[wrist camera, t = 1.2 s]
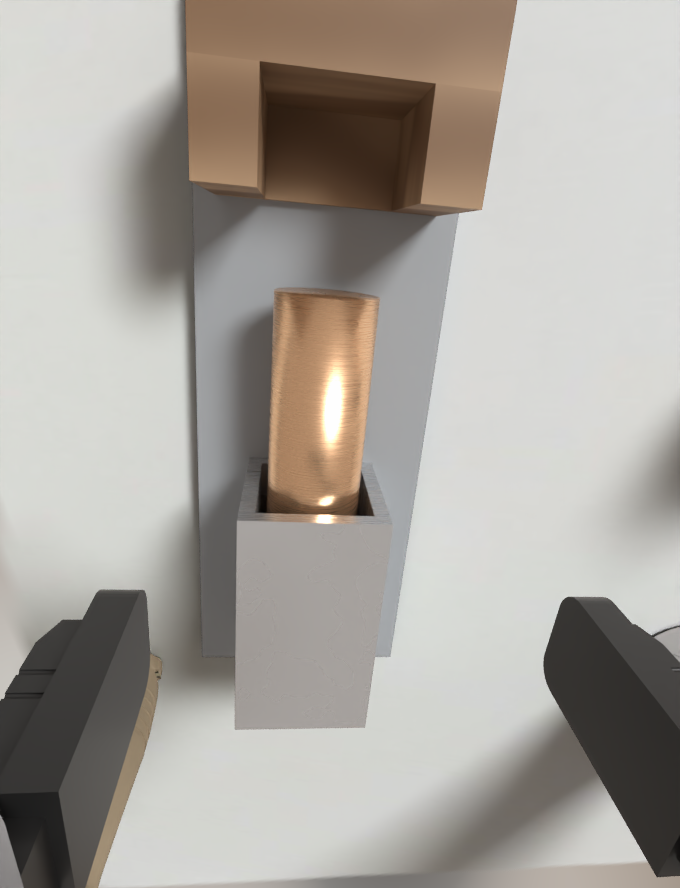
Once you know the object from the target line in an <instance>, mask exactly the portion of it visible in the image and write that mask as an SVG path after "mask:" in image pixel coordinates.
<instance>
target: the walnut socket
mask: <svg viewBox="0 0 680 888" xmlns="http://www.w3.org/2000/svg"><path fill="white" fill-rule="evenodd" d="M516 5H517V0H185V14H186V58H187V102H188V146H189V181H191V182H193V183H195V184H197V185H199V186H200V187H202V188H204V189H206V190H208V191H209V192H211V193H213V194H215V195H224V196H234V197H244V198H254V199H265V200H275V201H285V202H295V203H306V204H316V205H326V206H336V207H347V208H357V209H367V210H377V211H388V212H398V213H408V214H418V215H429V216H442V215H449V214H455V213H462V212H469V211H476V210H482V206H483V200H484V194H485V188H486V182H487V176H488V170H489V164H490V158H491V152H492V147H493V141H494V135H495V129H496V123H497V117H498V111H499V105H500V99H501V93H502V88H503V82H504V76H505V70H506V64H507V58H508V52H509V46H510V40H511V34H512V29H513V23H514V17H515V11H516Z"/></svg>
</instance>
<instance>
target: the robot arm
mask: <svg viewBox="0 0 680 888" xmlns="http://www.w3.org/2000/svg"><path fill="white" fill-rule="evenodd" d="M149 668H150V644H149V628H148V612H147V598H146V593H145V591H144V590H99V591H98V592H97V593H96V595H95V597H94V599H93V601H92V602H91V604H90V606H89V608H88V610H87V612H86V614H85V616H84V618H83V620H62V621H61V622H60V623H58V624H57V625H56V626H55V627H54V628H52V629H51V630H50V631H49V632H48V633H47V634H45V635H44V636H43V637H42V638H41V639H39V640H38V641H37V642H36V643H35V645H34V646H33V648H32V650H31V651H30V653H29V655H28V656H27V658H26V660H25V661H24V663H23V665H22V666H21V668H20V670H19V674H18V675H16V676H15V678H14V679H13V681H12V683H11V684H10V686H9V688H8V689H7V691H6V693H5V698H4V699H1V701H0V888H85V887H86V884H87V881H88V878H89V874H90V871H91V868H92V865H93V861H94V858H95V855H96V852H97V848H98V845H99V842H100V839H101V835H102V832H103V829H104V825H105V822H106V819H107V816H108V812H109V809H110V806H111V803H112V799H113V796H114V793H115V790H116V786H117V783H118V780H119V776H120V773H121V770H122V767H123V763H124V760H125V757H126V754H127V750H128V747H129V744H130V741H131V737H132V734H133V731H134V728H135V724H136V721H137V718H138V714H139V711H140V708H141V705H142V701H143V698H144V695H145V691H146V687H147V682H148V677H149ZM544 674H545V679H546V682H547V685H548V687H549V689H550V691H551V693H552V695H553V697H554V698H555V700H556V702H557V704H558V705H559V707H560V709H561V711H562V712H563V714H564V716H565V718H566V719H567V721H568V723H569V725H570V726H571V728H572V730H573V732H574V733H575V735H576V737H577V739H578V740H579V742H580V744H581V746H582V747H583V749H584V751H585V753H586V754H587V756H588V758H589V760H590V761H591V763H592V765H593V767H594V768H595V770H596V772H597V773H598V775H599V777H600V779H601V780H602V782H603V784H604V786H605V787H606V789H607V791H608V793H609V794H610V796H611V798H612V800H613V801H614V803H615V805H616V807H617V808H618V810H619V812H620V814H621V815H622V817H623V819H624V821H625V822H626V824H627V826H628V828H629V829H630V831H631V833H632V835H633V836H634V838H635V840H636V842H637V843H638V845H639V847H640V849H641V850H642V852H643V854H644V856H645V857H646V859H647V861H648V863H649V864H650V866H651V868H652V869H653V871H654V873H655V875H656V876H657V877H667V876H680V627H677V628H674V629H670V630H668V631H665V632H663V633H661V634H659V635H657V636H655V637H652V636H651V635H650V634H648V633H647V632H645V631H644V630H643V629H641V628H640V627H638V626H637V625H636V624H632V623H631V622H630V621H629V620H628V619H627V618H626V616H625V615H624V614H623V613H622V612H621V611H620V610H619V609H618V607H617V606H616V605H615V604H614V603H613V602H612V601H611V600H609V599H608V598H604V597H567V598H565V599H564V600H563V601H562V603H561V605H560V608H559V611H558V614H557V617H556V620H555V623H554V627H553V630H552V633H551V636H550V639H549V642H548V645H547V649H546V652H545V655H544Z"/></svg>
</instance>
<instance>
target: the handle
mask: <svg viewBox="0 0 680 888" xmlns="http://www.w3.org/2000/svg"><path fill="white" fill-rule="evenodd" d="M161 673H162V661H161V660H160V658H159V657H156V656H154V655H152V654H151V653H150V668H149V677H148V682H147V687H146V691H145V695H144V698H143V701H142V705H141V708H140V711H139V714H138V718H137V721H136V724H135V728H134V731H133V734H132V737H131V741H130V744H129V747H128V750H127V754H126V757H125V760H124V763H123V767H122V770H121V773H120V776H119V780H118V783H117V786H116V790H115V793H114V796H113V799H112V803H111V806H110V809H109V812H108V816H107V819H106V822H105V825H104V829H103V832H102V835H101V839H100V842H99V845H98V848H97V852H96V855H95V858H94V861H93V865H92V868H91V871H90V874H89V878H88V881H87V884H86V887H85V888H98V886H99V882H100V879H101V875H102V872H103V869H104V867H105V864H106V861H107V858H108V855H109V852H110V849H111V846H112V843H113V841H114V838H115V835H116V832H117V829H118V826H119V823H120V820H121V817H122V815H123V812H124V809H125V806H126V803H127V801H128V798H129V795H130V792H131V789H132V787H133V784H134V781H135V778H136V775H137V773H138V770H139V767H140V764H141V761H142V759H143V756H144V752H145V749H146V745H147V741H148V738H149V734H150V730H151V726H152V722H153V717H154V713H155V708H156V703H157V696H158V682H157V681H158V679H161Z"/></svg>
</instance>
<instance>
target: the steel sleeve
mask: <svg viewBox="0 0 680 888" xmlns="http://www.w3.org/2000/svg"><path fill="white" fill-rule="evenodd" d="M267 481H268V458H257V457H249V462H248V467H247V472H246V477H245V482H244V487H243V492H242V497H241V502H240V507H239V512H238V517H237V556H236V653H235V730H240V729H302V728H364V727H365V724H366V717H367V709H368V702H369V695H370V688H371V681H372V674H373V667H374V660H375V653H376V645H377V638H378V631H379V624H380V617H381V610H382V603H383V596H384V588H385V581H386V574H387V567H388V560H389V553H390V546H391V539H392V532H393V523H392V520H391V517H390V514H389V511H388V508H387V505H386V503H385V500H384V497H383V494H382V491H381V488H380V485H379V483H378V480H377V477H376V474H375V471H374V468H373V465H372V463H371V462H362V470H361V479H360V488H359V497H358V506H357V516H345V515H312V514H278V513H266V510H267Z"/></svg>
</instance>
